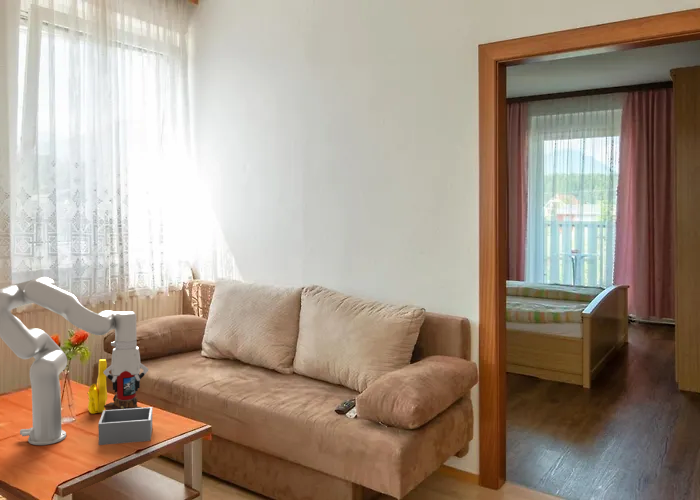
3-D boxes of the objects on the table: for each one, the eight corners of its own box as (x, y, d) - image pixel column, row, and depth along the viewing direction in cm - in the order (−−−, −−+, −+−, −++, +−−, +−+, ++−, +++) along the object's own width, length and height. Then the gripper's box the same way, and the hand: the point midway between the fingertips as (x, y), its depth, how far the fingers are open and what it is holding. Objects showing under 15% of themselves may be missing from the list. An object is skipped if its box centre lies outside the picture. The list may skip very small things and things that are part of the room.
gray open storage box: (98, 445, 215) (98, 423, 214) (103, 430, 228) (103, 410, 227) (150, 440, 220) (150, 420, 219) (152, 426, 233) (152, 407, 232)
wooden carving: (101, 418, 240) (101, 394, 239) (107, 414, 245) (107, 391, 244) (138, 421, 238) (138, 397, 237) (144, 417, 242) (144, 394, 241)
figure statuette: (84, 406, 253) (83, 356, 251) (103, 403, 257) (103, 354, 256) (91, 420, 238) (90, 367, 236) (111, 416, 243) (111, 364, 241)
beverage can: (129, 402, 219) (129, 370, 218) (113, 400, 220) (112, 369, 219) (139, 396, 225) (139, 365, 224) (123, 394, 227) (123, 364, 226)
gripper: (99, 348, 215) (100, 395, 216) (149, 345, 220) (150, 392, 221) (102, 343, 222) (103, 389, 224) (150, 341, 227) (151, 386, 228)
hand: (126, 390), depth 222 cm, fingers closed on beverage can, 6 cm apart
